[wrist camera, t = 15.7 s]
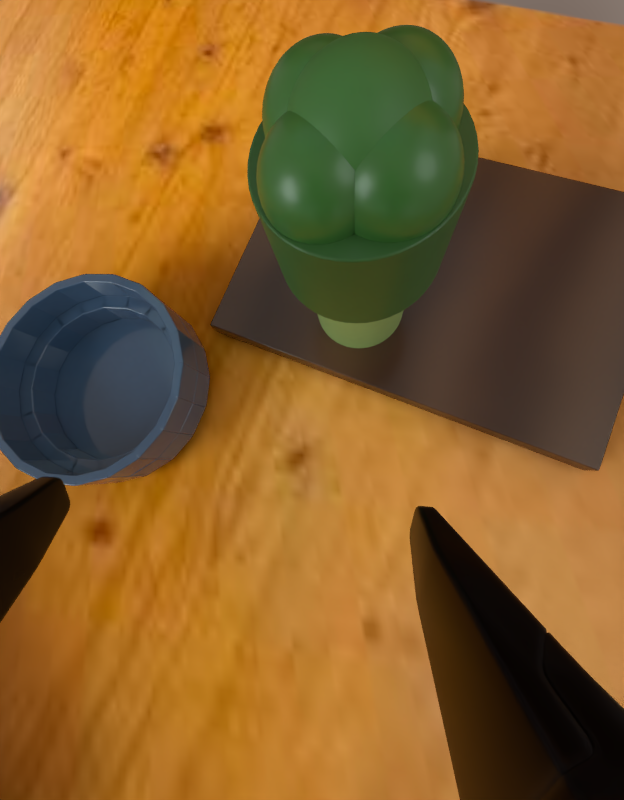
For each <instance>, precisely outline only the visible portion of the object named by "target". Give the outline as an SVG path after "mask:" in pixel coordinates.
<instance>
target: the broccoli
mask: <svg viewBox="0 0 624 800" xmlns="http://www.w3.org/2000/svg"><path fill="white" fill-rule="evenodd" d="M463 102H464V89H463V79H462V75H461V72H460V68H459V65H458V62H457V60H456V58H455V56H454V54H453V52H452V51H451V49H450V48H449V47H448V45H447V44H446V43H445V42H444V41H443V40H442V39H441V38H440V37H439V36H438V35H436V34H435V33H433V32H431V31H430V30H428V29H425V28H423V27H419V26H414V25H399V26H394V27H390V28H387V29H384V30H382V31H380V32H378V33H374V32H358V33H352V34H348V35H345V36H341V35H338V34H331V33H323V34H316V35H312V36H309V37H306V38H304V39H302V40H300V41H299V42H297V43H296V44H294V45H293V46H292V47H291V48H290V49H288V50H287V51H286V52H285V53H284V54H283V56H282V57H281V58H280V59H279V61H278V63H277V64H276V66H275V67H274V69H273V71H272V73H271V75H270V77H269V80H268V83H267V86H266V89H265V94H264V99H263V108H262V122H261V124H260V125H259V127H258V130H257V132H256V134H255V136H254V139H253V142H252V145H251V148H250V153H249V159H248V185H249V191H250V194H251V198H252V201H253V204H254V206H255V208H256V211H257V213H258V216H259V218H260V220H261V223H262V225H263V228H264V230H265V233H266V235H267V237H268V240H269V242H270V245H271V247H272V249H273V252H274V254H275V257H276V259H277V261H278V264H279V266H280V269H281V271H282V273H283V276H284V278H285V280H286V283H287V285H288V286H289V288H290V290H291V291H292V293H293V294H294V295H295V296H296V297H297V299H298V300H299V301H300V302H301V303H303V304H304V305H305V306H306V307H307V308H309V309H310V310H312V311H313V312H315V313H317V314H318V318H319V321H320V324H321V326H322V328H323V330H324V331H325V333H326V334H327V335H328V336H329V337H330V338H331V339H332V340H334V341H335V342H337V343H339V344H341V345H343V346H346V347H351V348H367V347H371V346H375V345H377V344H379V343H381V342H383V341H384V340H386V339H387V338H388V337H390V336H391V335H392V334H393V332H394V331H395V330H396V328H397V327H398V325H399V323H400V320H401V318H402V314H403V310H405V309H406V308H408V307H409V306H411V305H412V304H413V303H414V302H416V301H417V300H418V299H419V298H420V297H421V296H422V295H423V294H424V293H425V292H426V290H427V289H428V288H429V286H430V285H431V284H432V282H433V280H434V278H435V276H436V275H437V272H438V270H439V267H440V265H441V262H442V260H443V257H444V255H445V252H446V250H447V247H448V245H449V242H450V240H451V237H452V235H453V232H454V230H455V227H456V225H457V222H458V220H459V217H460V215H461V212H462V210H463V207H464V205H465V202H466V199H467V197H468V194H469V192H470V189H471V187H472V184H473V181H474V179H475V175H476V170H477V165H478V152H479V150H478V140H477V133H476V130H475V126H474V122H473V120H472V118H471V115H470V113H469V111H468V109H467V108H466V106H465V105H464V103H463Z"/></svg>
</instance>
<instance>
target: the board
mask: <svg viewBox="0 0 624 800" xmlns="http://www.w3.org/2000/svg"><path fill="white" fill-rule="evenodd" d="M211 326H212V327H213V328H214V329H215V330H216V331H218V332H220V333H222V334H225V335H228V336H230V337H233V338H235V339H238V340H241V341H243V342H246V343H249V344H251V345H254V346H257V347H259V348H262V349H265V350H267V351H270V352H273V353H275V354H278V355H280V356H283V357H286V358H288V359H291V360H294V361H296V362H299V363H302V364H304V365H307V366H310V367H312V368H315V369H318V370H320V371H323V372H326V373H328V374H331V375H333V376H336V377H339V378H341V379H344V380H347V381H349V382H352V383H355V384H357V385H360V386H363V387H365V388H368V389H371V390H373V391H376V392H378V393H381V394H384V395H386V396H389V397H392V398H394V399H397V400H400V401H402V402H405V403H408V404H410V405H413V406H416V407H418V408H421V409H424V410H426V411H429V412H431V413H434V414H437V415H439V416H442V417H445V418H447V419H450V420H453V421H455V422H458V423H461V424H463V425H466V426H469V427H471V428H474V429H477V430H479V431H482V432H484V433H487V434H490V435H492V436H495V437H498V438H500V439H503V440H506V441H508V442H511V443H514V444H516V445H519V446H522V447H524V448H527V449H529V450H532V451H535V452H537V453H540V454H543V455H545V456H548V457H551V458H553V459H556V460H559V461H561V462H564V463H567V464H569V465H572V466H575V467H577V468H580V469H582V470H595V471H598V470H599V469H600V466H601V463H602V460H603V457H604V453H605V450H606V447H607V444H608V441H609V438H610V435H611V432H612V428H613V425H614V422H615V419H616V416H617V413H618V410H619V407H620V404H621V400H622V397H623V394H624V192H621V191H617V190H613V189H609V188H605V187H600V186H596V185H592V184H588V183H584V182H580V181H575V180H571V179H567V178H563V177H559V176H554V175H550V174H546V173H542V172H538V171H534V170H529V169H525V168H521V167H517V166H513V165H508V164H504V163H500V162H496V161H492V160H488V159H483V158H479V157H478V165H477V170H476V175H475V179H474V181H473V184H472V187H471V189H470V192H469V194H468V197H467V199H466V202H465V205H464V207H463V210H462V212H461V215H460V217H459V220H458V222H457V225H456V227H455V230H454V232H453V235H452V237H451V240H450V242H449V245H448V247H447V250H446V252H445V255H444V257H443V260H442V262H441V265H440V267H439V270H438V272H437V275H436V276H435V278H434V280H433V282H432V284H431V285H430V286H429V288H428V289H427V290H426V292H425V293H424V294H423V295H422V296H421V297H420V298H419V299H418V300H417V301H416V302H414V303H413V304H412V305H411V306H409V307H408V308H406V309H405V310H403V314H402V318H401V320H400V323H399V325H398V327H397V328H396V330H395V331H394V332H393V334H392V335H391V336H390V337H388V338H387V339H386V340H384V341H383V342H381V343H379V344H377V345H375V346H371V347H367V348H351V347H346V346H343V345H341V344H339V343H337V342H335V341H334V340H332V339H331V338H330V337H329V336H328V335H327V334H326V333H325V331H324V330H323V328H322V326H321V324H320V321H319V318H318V314H317V313H315V312H313V311H312V310H310V309H309V308H307V307H306V306H305V305H304V304H303V303H301V302H300V301H299V300H298V299H297V297H296V296H295V295H294V294H293V293H292V291H291V290H290V288H289V286H288V285H287V283H286V280H285V278H284V276H283V273H282V271H281V269H280V266H279V264H278V261H277V259H276V257H275V254H274V252H273V249H272V247H271V245H270V242H269V240H268V237H267V235H266V233H265V230H264V228H263V225H262V223H261V220H260V219H259V221H258V223H257V225H256V227H255V229H254V232H253V234H252V236H251V238H250V240H249V242H248V245H247V247H246V249H245V251H244V253H243V255H242V258H241V260H240V262H239V264H238V266H237V268H236V271H235V273H234V275H233V277H232V279H231V281H230V283H229V286H228V288H227V290H226V292H225V294H224V296H223V299H222V301H221V303H220V305H219V307H218V309H217V312H216V314H215V316H214V318H213V320H212V322H211Z"/></svg>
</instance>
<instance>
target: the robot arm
mask: <svg viewBox="0 0 624 800" xmlns="http://www.w3.org/2000/svg"><path fill="white" fill-rule="evenodd" d="M69 508H70V500H69V497H68V494H67V491H66V488H65V486H64V483H63V481H62V480H61V479H60V478H58V477H48V476H44V477H40V478H38V479H36V480H33V481H31V482H29V483H27V484H25V485H23V486H20V487H18V488H16V489H14V490H12V491H10V492H7V493H5V494H3V495H1V496H0V622H1V621H2V619H3V618H4V616H5V615H6V613H7V612H8V610H9V609H10V607H11V606H12V605H13V603H14V602H15V600H16V599H17V597H18V596H19V594H20V593H21V591H22V590H23V588H24V587H25V585H26V584H27V582H28V581H29V579H30V578H31V576H32V575H33V573H34V572H35V570H36V568H37V567H38V565H39V563H40V562H41V560H42V558H43V557H44V555H45V553H46V551H47V549H48V547H49V546H50V544H51V542H52V540H53V538H54V536H55V535H56V533H57V531H58V529H59V527H60V525H61V524H62V522H63V520H64V518H65V516H66V515H67V513H68V511H69ZM410 545H411V554H412V564H413V573H414V583H415V592H416V600H417V605H418V610H419V615H420V619H421V624H422V628H423V633H424V638H425V642H426V647H427V651H428V656H429V660H430V665H431V669H432V674H433V678H434V683H435V688H436V692H437V697H438V701H439V706H440V710H441V715H442V719H443V724H444V729H445V733H446V738H447V742H448V747H449V751H450V756H451V760H452V765H453V770H454V774H455V779H456V783H457V788H458V792H459V797H460V800H624V708H622V707H621V706H620V705H619V704H618V703H617V702H616V701H615V700H614V699H613V698H612V697H611V696H610V695H609V694H608V693H607V692H606V691H605V690H604V689H603V688H602V687H601V686H600V685H599V684H598V683H597V682H596V681H595V680H594V679H593V678H592V677H591V676H590V675H589V674H588V673H587V672H586V671H585V670H584V669H583V668H582V667H581V666H580V665H579V664H578V663H577V661H576V660H575V659H574V658H573V657H572V656H571V655H570V654H569V653H568V652H567V651H566V650H565V649H564V648H563V647H562V646H561V645H560V643H559V642H558V641H557V640H556V639H555V638H554V637H553V636H552V635H551V634H550V633H546V629H545V627H544V626H543V625H542V624H541V623H540V622H539V621H538V620H537V619H536V618H535V617H534V615H533V614H532V613H531V612H530V611H529V610H528V609H527V608H526V607H525V606H524V605H523V604H522V602H521V601H520V600H519V599H518V598H517V597H516V596H515V595H514V594H513V593H512V592H511V591H510V589H509V588H508V587H507V586H506V585H505V584H504V583H503V582H502V581H501V580H500V579H499V578H498V576H497V575H496V574H495V573H494V572H493V571H492V570H491V569H490V568H489V567H488V566H487V565H486V563H485V562H484V561H483V560H482V559H481V558H480V557H479V556H478V555H477V554H476V553H475V552H474V550H473V549H472V548H471V547H470V546H469V545H468V544H467V543H466V542H465V541H464V540H463V539H462V537H461V536H460V535H459V534H458V533H457V532H456V531H455V530H454V529H453V528H452V527H451V526H450V524H449V523H448V522H447V521H446V520H445V519H444V518H443V517H442V516H441V515H440V514H439V513H438V511H437V510H436V509H434V508H433V507H425V506H418V507H416V509H415V512H414V516H413V520H412V524H411V528H410Z"/></svg>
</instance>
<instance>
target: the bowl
mask: <svg viewBox="0 0 624 800" xmlns="http://www.w3.org/2000/svg"><path fill="white" fill-rule="evenodd" d="M209 377H210V375H209V370H208V364H207V359H206V353H205V350H204V347H203V345H202V344H201V342H200V340H199V338H198V337H197V335H196V333H195V331H194V329H193V328H192V326H191V325H190V324H189V323H187V322H186V321H185V320H184V319H183V318H182V317H180V316H179V315H178V314H177V313H176V312H175V311H173V310H172V309H171V308H170V307H169V306H167V305H166V304H165V303H164V302H162V301H161V300H160V299H159V298H158V297H156V296H155V295H154V294H153V293H151V292H150V291H149V290H148V289H147V288H145V287H144V286H143V285H141V284H139V283H136V282H134V281H131V280H128V279H125V278H123V277H120V276H117V275H113V274H83V275H79V276H76V277H73V278H70V279H66V280H63V281H60V282H56V283H54V284H53V285H51V286H49V287H48V288H46V289H45V290H43V291H42V292H40V293H39V294H37V295H36V296H34V297H32V298H31V299H29V301H27V302H26V303H25V304H24V305H23V306H22V308H21V309H20V310H19V311H18V312H17V313H16V314H15V315H14V316H13V317H12V319H11V320H10V321H9V322H8V323H7V325H6V326H5V328H4V330H3V332H2V333H1V335H0V450H1V451H2V452H3V454H4V455H5V456H6V457H7V458H8V459H9V460H10V462H11V463H12V464H13V465H14V466H15V467H16V468H17V469H19V470H20V471H22V472H24V473H26V474H28V475H30V476H32V477H34V478H36V479H38V478H40V477H44V476H48V477H58V478H60V479H61V480H62V481H63V483H64V485H71V486H80V485H93V484H106V483H118V482H123V481H127V480H131V479H135V478H139V477H143V476H146V475H148V474H150V473H151V472H153V471H155V470H156V469H158V468H159V467H161V466H163V465H164V464H166V463H167V462H169V461H171V460H172V459H174V457H175V456H176V455H177V454H178V453H179V452H180V450H181V449H182V448H183V447H184V446H185V445H186V444H187V442H188V441H189V440H190V439H191V438H192V437H193V434H194V432H195V430H196V428H197V426H198V423H199V421H200V419H201V417H202V415H203V412H204V410H205V407H206V404H207V397H208V389H209V381H210V378H209Z"/></svg>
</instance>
